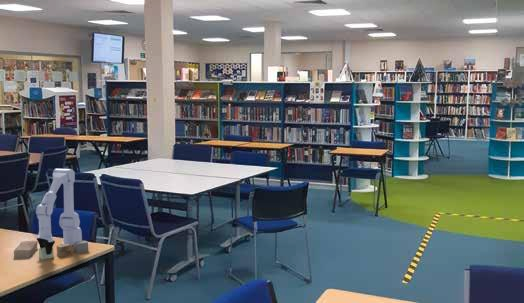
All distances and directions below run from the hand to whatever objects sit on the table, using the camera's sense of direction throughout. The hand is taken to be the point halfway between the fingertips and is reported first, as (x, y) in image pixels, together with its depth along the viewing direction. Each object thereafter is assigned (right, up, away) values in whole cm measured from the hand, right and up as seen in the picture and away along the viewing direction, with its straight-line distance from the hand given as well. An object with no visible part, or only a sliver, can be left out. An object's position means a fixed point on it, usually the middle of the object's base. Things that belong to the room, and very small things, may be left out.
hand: (46, 252), depth 267 cm
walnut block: (+7, -2, +6) cm, 10 cm away
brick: (-14, -2, +8) cm, 16 cm away
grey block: (+15, -2, +11) cm, 18 cm away
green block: (0, -3, 0) cm, 3 cm away
